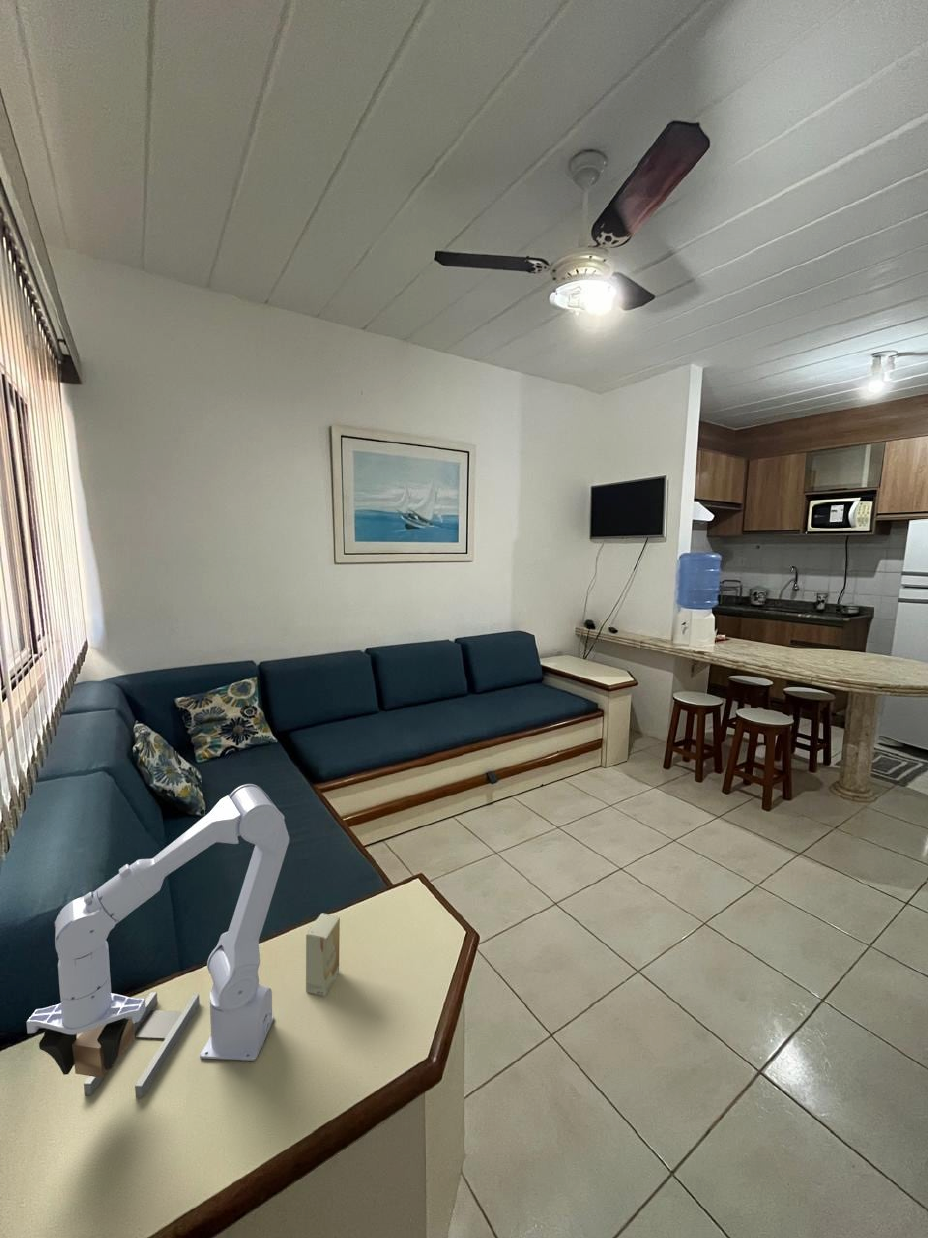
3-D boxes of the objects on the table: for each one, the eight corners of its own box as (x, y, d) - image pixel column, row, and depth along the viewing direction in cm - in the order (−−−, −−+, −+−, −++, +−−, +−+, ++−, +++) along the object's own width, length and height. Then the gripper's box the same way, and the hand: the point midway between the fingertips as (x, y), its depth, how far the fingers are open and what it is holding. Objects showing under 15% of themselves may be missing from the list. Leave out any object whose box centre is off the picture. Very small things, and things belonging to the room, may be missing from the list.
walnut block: (135, 1038, 77) (132, 1010, 76) (102, 1078, 71) (99, 1048, 71) (109, 1034, 78) (106, 1006, 77) (75, 1073, 72) (71, 1044, 71)
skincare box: (325, 997, 93) (325, 940, 92) (305, 993, 94) (304, 935, 92) (340, 970, 99) (340, 915, 98) (321, 966, 100) (321, 912, 99)
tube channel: (199, 1003, 91) (199, 994, 91) (142, 1097, 75) (141, 1086, 75) (152, 1001, 91) (151, 991, 91) (84, 1094, 75) (83, 1083, 75)
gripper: (153, 955, 75) (157, 1033, 77) (48, 964, 73) (54, 1044, 74) (129, 996, 68) (134, 1080, 70) (12, 1007, 66) (20, 1094, 67)
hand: (91, 1065), depth 72 cm, fingers closed on walnut block, 5 cm apart
